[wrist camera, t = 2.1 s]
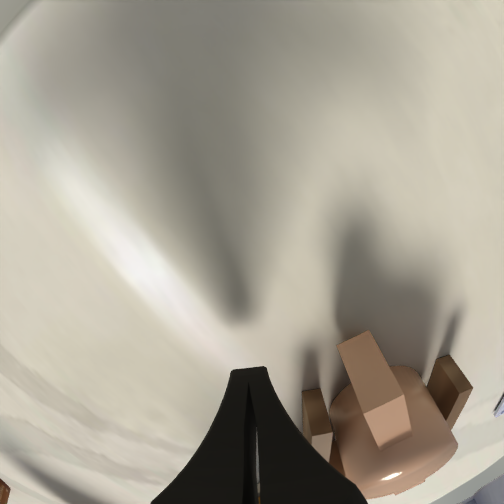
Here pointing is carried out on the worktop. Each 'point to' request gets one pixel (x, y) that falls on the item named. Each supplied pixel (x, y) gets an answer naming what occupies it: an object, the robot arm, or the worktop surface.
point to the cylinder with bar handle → (386, 423)
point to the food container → (4, 492)
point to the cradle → (440, 387)
